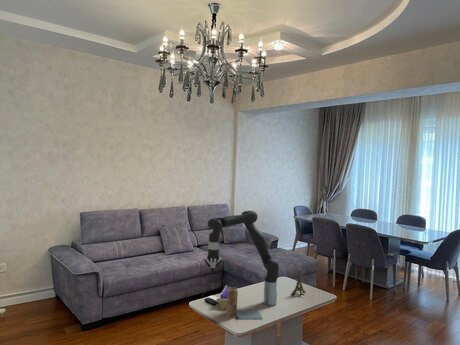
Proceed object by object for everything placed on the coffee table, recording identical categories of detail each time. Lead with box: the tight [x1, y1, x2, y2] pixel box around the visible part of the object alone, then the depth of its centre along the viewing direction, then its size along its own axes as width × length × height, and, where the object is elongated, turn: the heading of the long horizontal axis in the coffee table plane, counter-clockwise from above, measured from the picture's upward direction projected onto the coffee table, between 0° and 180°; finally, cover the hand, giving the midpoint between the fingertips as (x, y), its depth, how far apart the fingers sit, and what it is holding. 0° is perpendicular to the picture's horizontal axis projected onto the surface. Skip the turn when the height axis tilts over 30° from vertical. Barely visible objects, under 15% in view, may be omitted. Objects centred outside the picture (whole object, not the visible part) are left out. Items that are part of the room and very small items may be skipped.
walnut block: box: [226, 286, 239, 318], centre depth 238 cm, size 6×8×18 cm
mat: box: [236, 309, 263, 320], centre depth 240 cm, size 17×14×2 cm
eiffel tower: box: [291, 268, 307, 296], centre depth 284 cm, size 11×11×25 cm
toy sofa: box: [219, 285, 229, 309], centre depth 258 cm, size 21×9×10 cm, turn 168°
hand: (212, 273), depth 237 cm, fingers closed
